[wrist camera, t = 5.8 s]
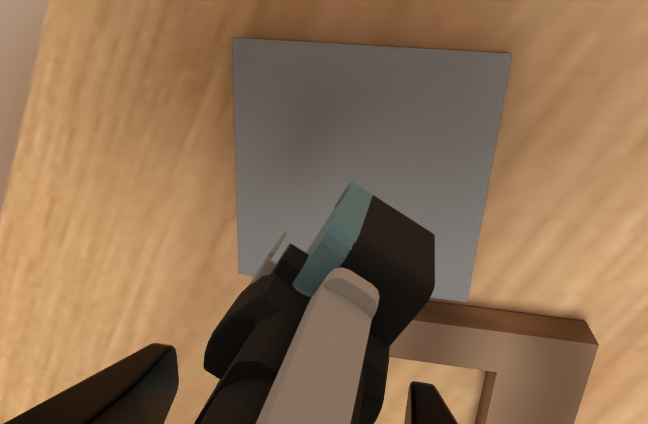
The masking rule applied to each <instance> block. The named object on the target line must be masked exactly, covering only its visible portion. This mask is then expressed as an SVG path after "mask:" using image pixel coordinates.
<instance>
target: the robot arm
mask: <svg viewBox="0 0 648 424" xmlns="http://www.w3.org/2000/svg"><path fill="white" fill-rule="evenodd" d="M178 384H179V377H178V365H177V354H176V350H175V348H174V347H173V346H172V345H166V344H159V343H153V344H150V345H148V346H146V347H144V348H143V349H141V350H139V351H137V352H135V353H133V354H131V355H130V356H128V357H126V358H124V359H122V360H120V361H119V362H117V363H115V364H113V365H111V366H109V367H107V368H106V369H104V370H102V371H100V372H98V373H96V374H94V375H93V376H91V377H89V378H87V379H85V380H83V381H81V382H80V383H78V384H76V385H74V386H72V387H70V388H68V389H67V390H65V391H63V392H61V393H59V394H57V395H56V396H54V397H52V398H50V399H48V400H46V401H44V402H43V403H41V404H39V405H37V406H35V407H33V408H31V409H30V410H28V411H26V412H24V413H22V414H20V415H18V416H17V417H15V418H13V419H11V420H9V421H7V422H5V423H4V424H164V422H165V419H166V417H167V414H168V412H169V410H170V407H171V405H172V402H173V400H174V398H175V395H176V393H177V389H178ZM404 424H458V423H457V421H456V420H455V418H454V416H453V415H452V413H451V411H450V410H449V408H448V407H447V405H446V403H445V402H444V400H443V399H442V397H441V395H440V394H439V392H438V390H437V389H436V387H435V386H434V385H433V384H429V383H422V382H415V381H413V382H411V383H410V386H409V392H408V399H407V406H406V413H405V422H404Z"/></svg>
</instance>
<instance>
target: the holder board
mask: <svg viewBox="0 0 648 424" xmlns="http://www.w3.org/2000/svg"><path fill="white" fill-rule="evenodd" d="M598 346H599V344H598V343H597V341H596V339H595V337H594V335H593V333H592V332H591V330H590V328H589V326H588V324H587V323H586V321H580V320H572V319H564V318H556V317H548V316H541V315H533V314H525V313H517V312H509V311H501V310H493V309H485V308H477V307H470V306H462V305H454V304H446V303H438V302H430V301H428V302H427V303H426V305H425V306H424V307H423V308H422V309H421V311H420V312H419V313H418V314H417V315H416V316H415V318H414V319H413V320H412V321H411V322H410V323H409V325H408V326H407V327H406V328H405V329H404V330H403V332H402V333H401V334H400V335H399V336H398V337H397V339H396V340H395V341H394V342H393V343H392V344H391V346H390V352H389V357H394V358H401V359H408V360H415V361H422V362H429V363H436V364H443V365H450V366H457V367H464V368H471V369H478V370H485V371H487V372H486V376H485V381H484V386H483V390H482V395H481V400H480V404H479V409H478V414H477V418H476V423H475V424H574V421H575V418H576V415H577V412H578V409H579V406H580V403H581V399H582V396H583V393H584V390H585V387H586V384H587V380H588V377H589V374H590V371H591V368H592V365H593V362H594V358H595V355H596V352H597V349H598Z"/></svg>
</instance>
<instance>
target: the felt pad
mask: <svg viewBox="0 0 648 424" xmlns="http://www.w3.org/2000/svg"><path fill="white" fill-rule="evenodd" d="M232 55H233V90H234V124H235V158H236V193H237V227H238V262H239V274H246V275H254V276H255V275H256V273H257V271H258V270H259V268H260V267H261V265H262V263H263V262H264V260H265V259H266V257H267V256H268V254H269V253H270V251H271V250H272V248H273V247H274V246H275V244H276V243H277V241H278V240H279V238H280V237H281V236H282V234H283V233H284V232H285V233H287V235H286V236H285V238H284V239H283V241H282V243H281V244H280V246H279V247H278V249H277V251H276V252H275V254H274V255H273V257H272V258H271V259H272V260H273V261H274V262H276V263H277V262H278V261H279V259H280V258H281V256H282V255H283V253H284V252H285V250H286V248H287V247H288V245H289V244H290V243H291V244H293V245H294V246H296V247H298V248H299V249H301V250H302V251H304V252H306V251H307V249H308V248H309V246H310V245H311V243H312V242H313V240H314V239H315V237H316V236H317V234H318V233H319V231H320V230H321V228H322V227H323V225H324V224H325V222H326V221H327V219H328V218H329V216H330V215H331V213H332V212H333V210H334V209H335V208H334V207H335V205H336V203H337V201H338V200H339V198H340V197H341V195H342V194H343V192H344V191H345V189H346V188H347V186H348V185H349V183H350V182H351V181H352V182H353V183H355V184H357V185H358V186H360V187H361V188H363V189H364V190H366V191H367V192H369V193H371V194H372V195H374V196H376V197H377V198H379V199H380V200H382V201H383V202H385V203H387V204H388V205H390V206H391V207H393V208H394V209H396V210H397V211H399V212H401V213H402V214H404V215H405V216H407V217H408V218H410V219H411V220H413V221H415V222H416V223H418V224H419V225H421V226H422V227H424V228H425V229H427V230H428V231H430V232H431V233H433V234H434V235H435V287H434V290H433V293H432V295H431V297H430V298H437V299H445V300H453V301H461V302H467V299H468V293H469V288H470V282H471V277H472V271H473V266H474V260H475V255H476V249H477V244H478V238H479V233H480V227H481V222H482V217H483V211H484V206H485V200H486V195H487V189H488V184H489V178H490V173H491V167H492V162H493V156H494V151H495V145H496V140H497V134H498V129H499V123H500V118H501V112H502V107H503V101H504V96H505V90H506V85H507V79H508V74H509V68H510V63H511V58H512V54H511V53H501V52H483V51H465V50H447V49H430V48H412V47H394V46H376V45H359V44H341V43H323V42H305V41H288V40H270V39H252V38H232Z"/></svg>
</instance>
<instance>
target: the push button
mask: <svg viewBox="0 0 648 424" xmlns="http://www.w3.org/2000/svg"><path fill="white" fill-rule="evenodd" d="M334 208H335V209H334V210H333V212H332V213H331V215H330V216H329V218H328V219H327V221H326V222H325V224H324V225H323V227H322V228H321V230H320V231H319V233H318V234H317V236H316V237H315V239H314V240H313V242H312V243H311V245H310V246H309V248H308V249H307V251H306V252H304V251H302V250H301V249H299V248H298V247H296V246H294V245H293V244H291V243H290V244H289V245H288V247H287V248H286V250H285V252H284V253H283V255H282V256H281V258H280V259H279V261H278V262H277V263H276V262H274V261H273V260H272V259H271V258H272V257H273V255H274V254H275V252H276V251H277V249H278V247H279V246H280V244H281V243H282V241H283V239H284V238H285V236H286V235H287V233H285V232H284V233H283V234H282V236H281V237H280V238H279V240H278V241H277V243H276V244H275V246H274V247H273V248H272V250H271V251H270V253H269V254H268V256H267V257H266V259H265V260H264V262H263V263H262V265H261V267H260V268H259V270H258V271H257V273H256V275H255V276H254V278H253V279H252V281H251V283H250V284H249V286H248V287H247V288H246V289H245V290H244V291H243V292H242V293H241V294H240V295H239V296H238V298H237V299H236V300H235V302H234V303H233V305H232V306H231V307H230V309H229V310H228V312H227V313H226V315H225V316H224V317H223V319H222V320H221V322H220V323H219V324H218V326H217V327H216V329H215V330H214V332H213V333H212V335H211V337H210V339H209V341H208V344H207V347H206V351H205V355H204V369H205V370H206V371H208V372H209V373H211V374H213V375H214V376H216V377H217V378H219V379H220V381H219V382H218V384H217V386H216V387H215V389H214V391H213V393H212V394H211V396H210V398H209V399H208V401H207V403H206V404H205V406H204V408H203V409H202V411H201V413H200V415H199V416H198V418H197V420H196V421H195V423H194V424H374V422H375V421H376V419H377V417H378V415H379V413H380V411H381V408H382V404H383V400H384V394H385V386H386V379H387V371H388V364H389V352H390V346H391V344H392V343H393V342H394V341H395V340H396V339H397V337H398V336H399V335H400V334H401V333H402V332H403V330H404V329H405V328H406V327H407V326H408V325H409V323H410V322H411V321H412V320H413V319H414V318H415V316H416V315H417V314H418V313H419V312H420V311H421V309H422V308H423V307H424V306H425V305H426V303H427V302H428V300H429V299H430V297H431V295H432V293H433V290H434V287H435V235H434V234H433V233H431V232H430V231H428V230H427V229H425V228H424V227H422V226H421V225H419V224H418V223H416V222H415V221H413V220H411V219H410V218H408V217H407V216H405V215H404V214H402V213H401V212H399V211H397V210H396V209H394V208H393V207H391V206H390V205H388V204H387V203H385V202H383V201H382V200H380V199H379V198H377V197H376V196H374V195H372V194H371V193H369V192H367V191H366V190H364V189H363V188H361V187H360V186H358V185H357V184H355V183H353V182H352V181H351V182H350V183H349V185H348V186H347V188H346V189H345V191H344V192H343V194H342V195H341V197H340V198H339V200H338V201H337V203H336V205H335V207H334Z"/></svg>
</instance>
